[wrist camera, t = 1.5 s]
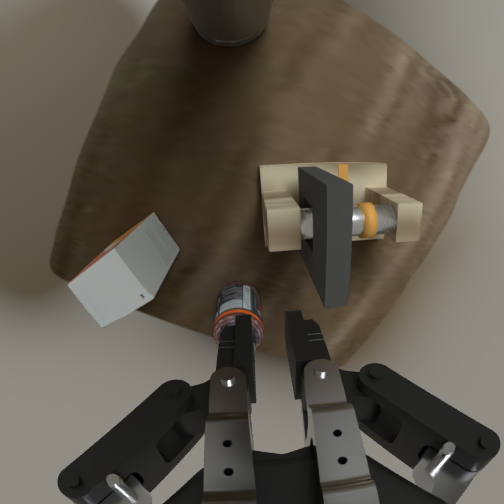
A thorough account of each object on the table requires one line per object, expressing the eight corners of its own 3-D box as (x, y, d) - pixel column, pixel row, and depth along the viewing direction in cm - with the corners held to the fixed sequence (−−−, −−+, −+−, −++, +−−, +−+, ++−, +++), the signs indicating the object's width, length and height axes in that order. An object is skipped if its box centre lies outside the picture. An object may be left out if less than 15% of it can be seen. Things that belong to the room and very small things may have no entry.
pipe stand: (259, 165, 35) (264, 177, 25) (381, 162, 35) (425, 174, 25) (264, 243, 39) (271, 281, 29) (379, 234, 39) (416, 267, 29)
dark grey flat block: (297, 167, 32) (326, 185, 20) (315, 166, 31) (353, 184, 20) (300, 252, 35) (324, 307, 24) (316, 250, 35) (347, 305, 24)
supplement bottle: (262, 314, 43) (266, 367, 33) (221, 317, 43) (215, 371, 33) (258, 277, 41) (263, 326, 30) (215, 281, 41) (206, 331, 30)
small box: (154, 210, 37) (114, 246, 25) (181, 249, 39) (155, 300, 27) (111, 241, 38) (65, 285, 26) (137, 277, 41) (102, 331, 28)
